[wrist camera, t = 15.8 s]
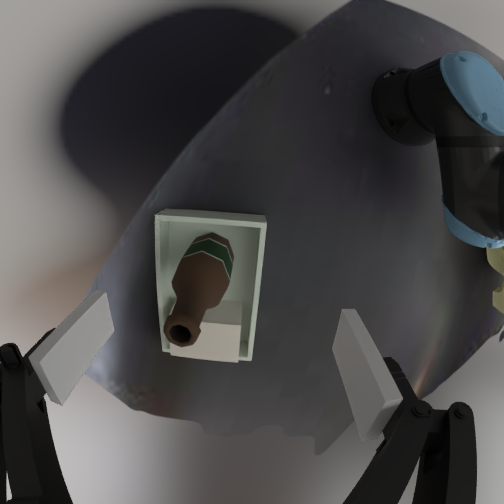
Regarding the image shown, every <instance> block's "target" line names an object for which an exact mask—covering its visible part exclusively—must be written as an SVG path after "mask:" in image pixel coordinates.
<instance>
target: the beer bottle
mask: <svg viewBox="0 0 504 504" xmlns="http://www.w3.org/2000/svg"><path fill="white" fill-rule="evenodd" d="M233 261H234V254H233V251H232V248H231V246H230V243H229V240H228V239H226V238H224V237H222V236H220V235H218V234H216V233H214V232H211V233H208V234H205V235H202V236H199V237H196V238H195V239H194V241H193V242H192V244H191V245H190V247H189V248H188V249H187V251H186V252H185V254H184V255H183V257H182V258H181V260H180V263H179V265H178V267H177V270H176V272H175V274H174V277H173V279H172V282H171V283H172V288H173V290H174V292H175V294H176V296H177V299H176V303H175V305H174V308H173V311H172V314H171V315H168V316H167V319H166V321H165V324H164V326H163V332H164V334H165V336H166V337H167V339H168V341H169V342H170V343H172V344H174V345H177V346H179V347H186V346H191V345H193V344H194V343H195V342H196V341H197V339H198V337H199V335H200V333H201V329H200V327H199V326H200V324H201V322H202V319H203V317H204V314H205V312H206V310H207V309H211V308H214V307H216V306H217V305H219V303H220V301H221V300H222V298H223V296H224V294H225V292H226V290H227V288H228V286H229V283H230V279H231V273H232V267H233Z"/></svg>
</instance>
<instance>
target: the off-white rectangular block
mask: <svg viewBox="0 0 504 504" xmlns="http://www.w3.org/2000/svg"><path fill="white" fill-rule="evenodd" d="M175 303H176V302H175ZM174 305H175V304H174ZM173 308H174V306H173ZM173 308H172V310H171V312H170V314H169V315H171V314H172V311H173ZM241 320H242V301H230V300H221V301H220V303H219V305H217V306H216V307H214V308H211V309H207V310H206V312H205V314H204V317H203V319H202V322H201V324H200V326H199V327H200V329H201V333H200V335H199V337H198V339H197V341H196V342H195V343H194V344H193V345H191V346H186V347H179V346H177V345H174V344H172V343H170V342H169V343H170V353H171V355H174V356H181V357H189V358H197V359H205V360H215V361H225V362H237V363H238V358H239V346H240V334H241Z"/></svg>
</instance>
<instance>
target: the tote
mask: <svg viewBox="0 0 504 504" xmlns="http://www.w3.org/2000/svg"><path fill="white" fill-rule="evenodd" d="M266 227H267V222H266V218H265V215H255V214H243V213H231V212H217V211H203V210H188V209H170V208H166V209H164V210H163V211H161V212H159V213H157V214H156V215H155V257H156V281H157V297H158V310H159V322H160V332H161V341H162V350H163V351H164V352H170V343H169V341H168V339H167V337H166V336H165V334H164V332H163V326H164V324H165V321H166V319H167V316H168V315H169V314H170V312H171V310H172V308H173V306H174V304H175V302H176V299H177V296H176V294H175V292H174V290H173V288H172V283H171V282H172V279H173V277H174V274H175V272H176V270H177V267H178V265H179V263H180V260H181V258H182V257H183V255H184V254H185V252H186V251H187V249H188V248H189V247H190V245H191V244H192V242H193V241H194V239H195V238H196V237H199V236H202V235H205V234H208V233H211V232H214V233H216V234H218V235H220V236H222V237H224V238H226V239H228V240H229V243H230V246H231V248H232V251H233V254H234V261H233V267H232V273H231V279H230V283H229V286H228V288H227V290H226V292H225V294H224V296H223V298H222V300H230V301H242V320H241V334H240V346H239V358H238V360H245V361H251V360H252V352H253V344H254V335H255V327H256V318H257V309H258V300H259V291H260V282H261V273H262V264H263V255H264V246H265V236H266Z"/></svg>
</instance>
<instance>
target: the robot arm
mask: <svg viewBox="0 0 504 504" xmlns="http://www.w3.org/2000/svg"><path fill="white" fill-rule="evenodd" d="M372 101H373V107H374V111H375V114H376V117H377V119H378V121H379V123H380V124H381V126H382V127H383V129H384V130H385V131H386V132H387V133H388V134H389V135H390V136H391V137H392V138H393V139H395V140H396V141H398V142H400V143H402V144H405V145H409V146H422V145H426V144H428V143H430V142H432V141H433V140H434V139H436V144H437V151H438V157H439V164H440V172H441V181H442V191H443V195H442V203H443V207H444V216H445V222H446V224H447V227H448V229H449V230H450V231H451V233H452V234H454V235H455V236H456V237H457V238H459V239H460V240H462V241H464V242H466V243H468V244H471V245H474V246H477V247H482V248H485V247H486V246H487V247H489V248H491V249H494V248H500V247H503V246H504V80H503V79H502V77H501V76H500V74H499V73H498V71H496V70H495V68H494V67H493V66H492V65H491V64H490V63H489V62H488V61H487V60H486V59H485V58H483V57H482V56H480V55H478V54H476V53H474V52H471V51H459V52H456V53H449V54H445V55H443V56H442V57H441V58H438V59H436V60H434V61H432V62H430V63H427V64H425V65H423V66H421V67H419V68H417V69H407V68H397V69H393V70H390V71H388V72H386V73H385V74H383V75H382V76H380V77H379V79H378V80H377V81H376V83H375V85H374V88H373V95H372ZM113 332H114V327H113V323H112V318H111V313H110V309H109V304H108V299H107V293H106V291H99V290H95V291H94V292H93V293H92V294H91V295H90V296H89V297H88V298H87V299H85V300H84V301H83V302H82V303H81V304H80V305H79V306H78V307H77V308H76V309H75V310H74V311H73V312H72V313H71V314H70V315H69V316H68V317H67V318H66V319H65V320H64V321H63V322H62V323H61V324H60V325H59V326H58V327H57V328H53V329H52V330H50V331H48V332H47V333H46V334H45V335H44V336H43V337H42V338H41V339H40V340H39V341H38V342H37V344H35V345H34V346H33V347H32V348H31V349H30V350H29V351H28V352H27V353H26V354H25V356H24V357H22V355H21V353H20V351H19V348H18V346H17V345H16V344H14V343H7V344H4V345H2V346H1V347H0V504H73V502H72V500H71V497H70V495H69V492H68V489H67V486H66V484H65V481H64V478H63V475H62V471H61V468H60V465H59V461H58V458H57V455H56V450H55V447H54V442H53V439H52V434H51V429H50V424H49V419H48V413H47V407H46V401H45V399H44V397H43V396H44V395H45V394H46V393H47V395H48V396H49V398H50V400H51V401H52V402H55V403H57V404H59V405H62V406H63V404H64V403H65V401H66V400H67V398H68V397H69V395H70V393H71V392H72V390H73V389H74V387H75V386H76V384H77V383H78V381H79V380H80V379H81V377H82V376H83V374H84V373H85V371H86V370H87V368H88V367H89V365H90V364H91V363H92V361H93V360H94V358H95V357H96V356H97V354H98V353H99V351H100V350H101V349H102V347H103V346H104V344H105V343H106V342H107V340H108V339H109V338H110V336H111V335H112V334H113ZM332 351H333V354H334V356H335V359H336V362H337V365H338V368H339V372H340V375H341V378H342V381H343V384H344V387H345V390H346V393H347V396H348V400H349V403H350V406H351V409H352V413H353V416H354V419H355V422H356V426H357V429H358V433H359V436H360V440H361V441H362V442H363V441H369V440H374V439H378V437H379V436H380V434H381V433H382V432H383V434H384V437H385V439H384V440H383V442H382V443H381V444H380V446H379V447H378V448H377V449H376V451H377V452H376V454H375V456H374V457H373V459H372V461H371V462H370V464H369V466H368V467H367V469H366V470H365V472H364V474H363V475H362V477H361V478H360V480H359V481H358V483H357V484H356V486H355V487H354V489H353V490H352V491H351V493H350V494H349V496H348V497H347V498H346V500H345V501H344V502H343V504H398V502H399V500H400V498H401V496H402V494H403V492H404V490H405V488H406V486H407V484H408V482H409V480H410V478H411V476H412V473H413V471H414V469H415V466H416V464H417V461H418V459H419V457H420V461H419V468H418V475H417V481H416V487H415V492H414V497H413V502H412V504H475V501H476V486H477V452H476V437H475V425H474V416H473V412H472V409H471V408H470V407H469V405H467V404H466V403H463V402H455V403H453V404H452V405H451V406H450V408H449V409H448V410H435V409H433V408H432V407H431V406H430V405H429V404H428V403H427V402H425V401H422V400H418V398H417V397H416V395H415V393H414V391H413V389H412V387H411V385H410V384H409V382H408V380H407V379H406V376H405V375H404V373H402V369H401V368H400V366H399V364H398V363H397V362H396V361H395V360H394V359H392V358H391V357H385V358H382V356H381V355H380V353H379V351H378V349H377V347H376V345H375V343H374V342H373V340H372V338H371V336H370V334H369V333H368V331H367V329H366V327H365V325H364V324H363V322H362V320H361V318H360V317H359V315H358V313H357V311H356V310H355V309H342V312H341V316H340V320H339V324H338V328H337V332H336V336H335V340H334V344H333V347H332ZM6 473H8V479H9V484H10V489H11V493H12V499H11V500H8V501H7V498H6Z"/></svg>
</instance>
